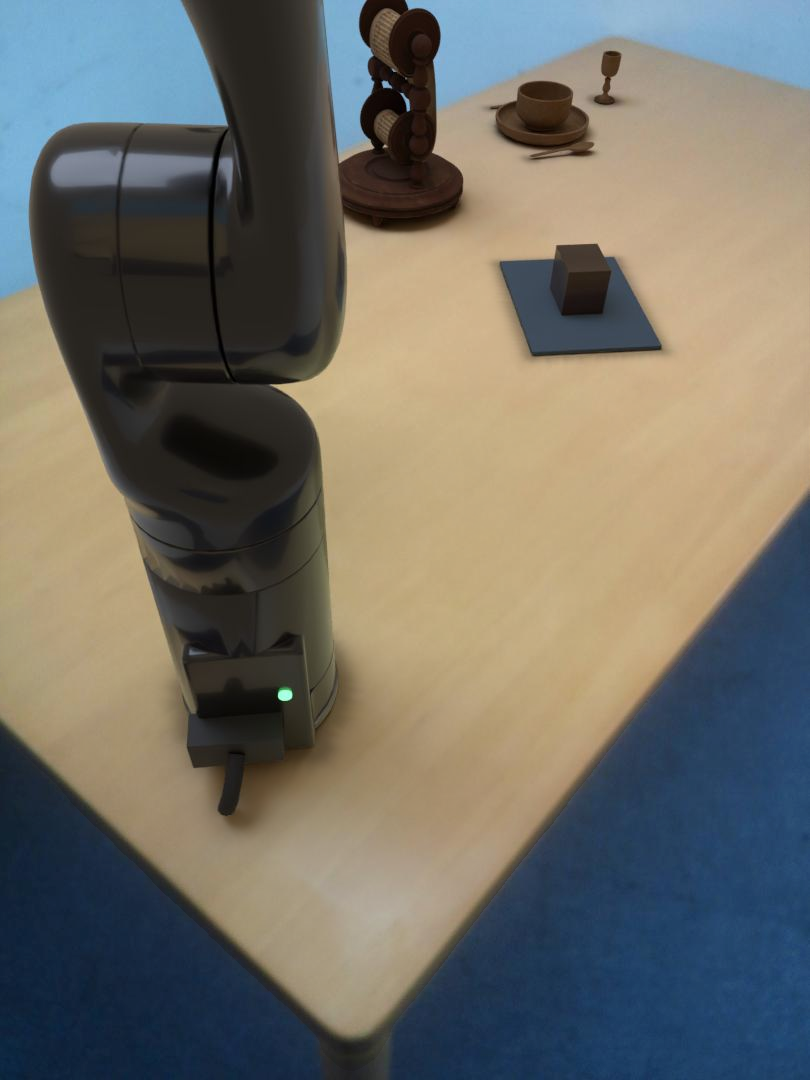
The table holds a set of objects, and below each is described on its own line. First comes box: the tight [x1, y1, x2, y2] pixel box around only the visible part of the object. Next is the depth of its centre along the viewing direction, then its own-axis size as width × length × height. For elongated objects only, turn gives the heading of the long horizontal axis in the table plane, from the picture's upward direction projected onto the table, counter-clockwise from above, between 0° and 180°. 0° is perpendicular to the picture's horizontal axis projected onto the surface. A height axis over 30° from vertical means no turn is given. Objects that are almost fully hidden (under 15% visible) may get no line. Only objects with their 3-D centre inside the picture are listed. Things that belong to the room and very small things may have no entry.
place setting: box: [489, 50, 622, 158], centre depth 111 cm, size 18×20×6 cm
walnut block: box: [550, 243, 612, 315], centre depth 82 cm, size 5×4×4 cm
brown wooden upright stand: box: [339, 0, 464, 228], centre depth 91 cm, size 15×15×20 cm
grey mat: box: [499, 256, 663, 356], centre depth 84 cm, size 16×12×1 cm
